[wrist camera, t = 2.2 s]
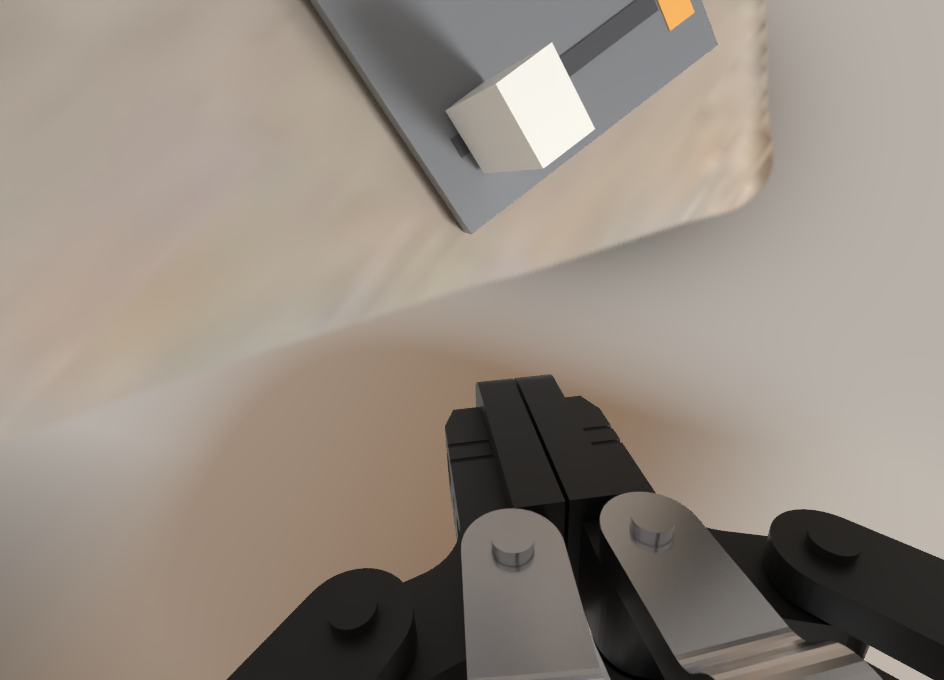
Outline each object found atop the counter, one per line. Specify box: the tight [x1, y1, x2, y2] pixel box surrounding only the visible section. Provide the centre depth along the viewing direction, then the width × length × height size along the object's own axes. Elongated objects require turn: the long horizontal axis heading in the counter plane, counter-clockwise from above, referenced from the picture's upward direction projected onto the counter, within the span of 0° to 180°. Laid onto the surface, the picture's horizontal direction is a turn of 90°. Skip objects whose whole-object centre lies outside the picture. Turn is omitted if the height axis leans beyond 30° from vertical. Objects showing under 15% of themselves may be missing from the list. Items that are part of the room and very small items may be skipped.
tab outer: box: [445, 42, 595, 174], centre depth 26 cm, size 4×3×8 cm
